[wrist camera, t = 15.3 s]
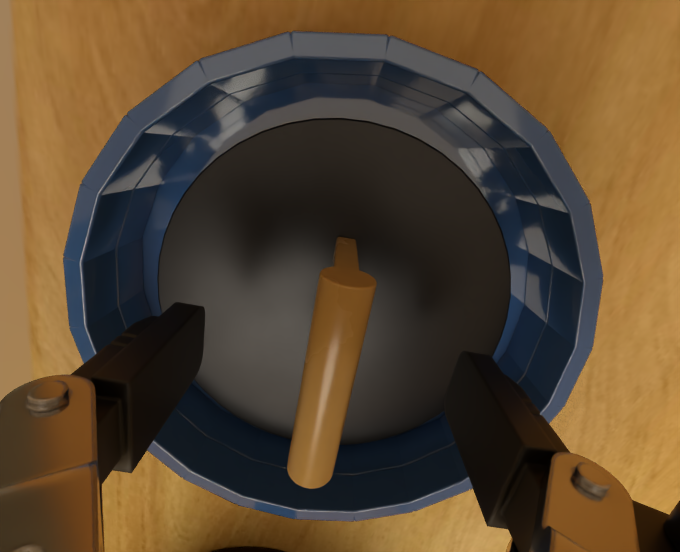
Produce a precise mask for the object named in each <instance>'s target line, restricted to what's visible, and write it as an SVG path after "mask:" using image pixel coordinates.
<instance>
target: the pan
mask: <svg viewBox="0 0 680 552" xmlns="http://www.w3.org/2000/svg"><path fill="white" fill-rule="evenodd" d="M314 118H348V119H356V120H364V121H371V122H374V123H378V124H382V125H385V126H389V127H393V128H396V129H398V130H401V131H403V132H405V133H407V134H410V135H412V136H414V137H417V138H419V139H421V140H422V141H424V142H426V143H427V144H429V145H431V146H432V147H434V148H435V149H437V150H439V151H440V152H442V153H443V154H444V155H446V156H447V157H448V158H449V159H450V160H452V161H453V162H454V163H455V164H456V165H457V166H459V167H460V168H461V169H462V170H463V171H464V172H465V173H466V174H467V175H468V177H469V178H470V179H471V180H472V181H473V182H474V183H475V185H476V186H477V187H478V188H479V189H480V191H481V192H482V194H483V196H484V197H485V199H486V200H487V202H488V203H489V205H490V206H491V208H492V210H493V212H494V214H495V216H496V219H497V221H498V223H499V225H500V227H501V230H502V233H503V236H504V240H505V243H506V247H507V250H508V255H509V263H510V270H511V298H510V304H509V311H508V317H507V321H506V324H505V327H504V330H503V334H502V337H501V339H500V342H499V344H498V346H497V348H496V350H495V352H494V355H493V357H492V358H493V360H494V361H495V362H496V364H497V365H498V367H499V368H500V370H501V371H502V372H503V374H504V375H507V376H508V377H509V378H511V379H512V380H513V381H514V382H516V383H517V384H518V385H519V386H521V387H522V389H523V390H524V391H525V393H526V394H527V395H528V397H529V398H530V399H531V401H532V403H533V404H534V405H535V406H536V407H537V409H538V410H539V411H540V415H543V417H544V418H545V419H546V421H547V422H548V423H550V422H551V421H552V420H553V419H554V418H555V417H556V415H557V414H558V413H559V412H560V411H561V410H562V408H563V407H564V406H565V404H566V402H567V400H568V398H569V396H570V394H571V392H572V390H573V388H574V386H575V384H576V381H577V379H578V377H579V375H580V373H581V371H582V369H583V367H584V365H585V363H586V361H587V359H588V357H589V355H590V353H591V351H592V347H593V343H594V337H595V330H596V324H597V317H598V311H599V304H600V298H601V291H602V285H603V272H602V266H601V260H600V254H599V249H598V243H597V237H596V232H595V226H594V220H593V215H592V209H591V204H590V203H589V199H588V198H587V196H586V194H585V192H584V191H583V189H582V187H581V185H580V183H579V182H578V180H577V178H576V176H575V175H574V173H573V171H572V169H571V168H570V166H569V164H568V162H567V160H566V159H565V157H564V155H563V153H562V152H561V150H560V148H559V146H558V145H557V143H556V141H555V139H554V137H553V136H552V134H551V132H550V131H549V130H548V129H547V128H546V127H545V126H544V125H543V124H542V123H541V122H539V121H538V120H537V119H536V118H535V117H534V116H533V115H531V114H530V113H529V112H528V111H527V110H526V109H524V108H523V107H522V106H521V105H520V104H519V103H518V102H516V101H515V100H514V99H513V98H512V97H511V96H509V95H508V94H507V93H506V92H505V91H504V90H502V89H501V88H500V87H499V86H498V85H497V84H496V83H494V82H493V81H492V80H491V79H490V78H489V77H487V76H486V75H485V74H484V73H483V72H481V71H479V70H478V69H476V68H474V67H471V66H469V65H466V64H464V63H461V62H459V61H456V60H454V59H451V58H448V57H446V56H443V55H441V54H438V53H436V52H433V51H431V50H428V49H425V48H423V47H420V46H418V45H415V44H413V43H410V42H408V41H405V40H402V39H400V38H397V37H395V36H388V35H387V34H366V33H340V32H313V31H292V32H291V33H290V32H284V33H281V34H278V35H275V36H272V37H268V38H265V39H262V40H259V41H255V42H252V43H249V44H246V45H242V46H239V47H236V48H233V49H230V50H226V51H223V52H220V53H217V54H213V55H210V56H207V57H204V58H201V59H200V60H199V61H195V62H194V63H193V64H191V65H190V66H189V67H187V68H186V69H185V70H183V71H182V72H181V73H179V74H178V75H177V76H175V77H174V78H173V79H171V80H170V81H169V82H167V83H166V84H165V85H163V86H162V87H161V88H159V89H158V90H157V91H155V92H154V93H153V94H151V95H150V96H149V97H147V98H146V99H145V100H143V101H142V102H141V103H139V104H138V105H137V106H135V107H134V108H133V109H131V110H130V111H129V112H128V113H127V115H125V116H124V117H123V119H122V120H121V122H120V123H119V125H118V126H117V128H116V129H115V131H114V133H113V134H112V136H111V137H110V139H109V140H108V142H107V143H106V145H105V146H104V148H103V149H102V151H101V152H100V154H99V155H98V157H97V159H96V160H95V162H94V163H93V165H92V166H91V168H90V169H89V171H88V172H87V174H86V175H85V177H84V178H83V180H82V184H81V185H80V187H79V191H78V196H77V200H76V204H75V208H74V212H73V216H72V221H71V225H70V229H69V233H68V237H67V241H66V246H65V250H64V254H63V256H64V258H63V264H64V275H65V286H66V297H67V308H68V319H69V326H70V328H69V329H70V331H71V334H72V336H73V338H74V341H75V343H76V346H77V348H78V351H79V353H80V355H81V358H82V360H83V363H86V362H87V361H88V360H89V359H91V358H92V357H93V356H94V355H95V354H97V353H98V352H99V351H100V350H102V349H103V348H104V347H105V346H107V345H108V344H109V345H110V343H111V341H113V340H114V339H115V338H116V337H118V336H119V335H120V336H121V334H122V333H123V332H124V331H125V330H126V329H127V328H129V327H130V326H131V325H132V324H134V323H135V322H138V321H140V320H143V319H145V318H148V317H150V316H158V317H159V316H160V315H161V309H160V304H159V297H158V282H157V276H158V263H159V255H160V250H161V246H162V241H163V237H164V234H165V231H166V228H167V226H168V223H169V221H170V218H171V216H172V213H173V211H174V210H175V208H176V206H177V204H178V203H179V201H180V199H181V197H182V196H183V194H184V192H185V191H186V190H187V189H188V187H189V186H190V185H191V184H192V182H193V181H194V180H195V179H196V177H197V176H198V175H199V174H200V173H201V172H202V171H203V170H204V169H205V168H206V167H207V166H208V165H209V164H210V163H211V162H213V161H214V160H215V159H216V158H217V157H218V156H220V155H221V154H222V153H224V152H225V151H227V150H228V149H230V148H231V147H233V146H234V145H236V144H237V143H239V142H241V141H243V140H245V139H247V138H249V137H251V136H253V135H255V134H257V133H259V132H261V131H264V130H267V129H270V128H273V127H276V126H279V125H282V124H285V123H289V122H295V121H301V120H308V119H314ZM290 445H291V439H287V438H284V437H281V436H277V435H274V434H271V433H268V432H266V431H264V430H261V429H259V428H257V427H255V426H252V425H250V424H249V423H247V422H245V421H243V420H242V419H240V418H238V417H236V416H235V415H233V414H232V413H230V412H229V411H228V410H226V409H225V408H223V407H222V406H221V405H219V404H218V403H217V402H216V401H215V400H214V399H213V398H211V397H210V396H209V395H208V394H207V393H206V392H205V391H204V390H203V389H202V388H201V387H200V386H199V385H198V383H197V382H196V381H195V380H193V382H192V383H191V385H190V386H189V388H188V389H187V391H186V392H185V394H184V395H183V397H182V398H181V400H180V401H179V403H178V404H177V406H176V407H175V409H174V410H173V412H172V413H171V415H170V416H169V418H168V419H167V421H166V422H165V424H164V425H163V427H162V428H161V430H160V431H159V433H158V434H157V436H156V437H155V439H154V440H153V442H152V443H151V445H150V446H149V448H148V449H147V451H149V452H150V453H151V454H152V455H154V456H155V457H156V458H157V459H159V460H160V461H161V462H162V463H164V464H165V465H166V466H167V467H169V468H170V469H171V470H172V471H174V472H175V473H176V474H177V475H179V476H180V477H183V479H185V480H187V481H189V482H191V483H193V484H195V485H197V486H199V487H201V488H203V489H205V490H207V491H209V492H211V493H213V494H216V495H218V496H220V497H222V498H224V499H226V500H228V501H230V502H232V503H234V504H237V505H239V506H243V507H247V508H251V509H255V510H259V511H263V512H267V513H271V514H275V515H279V516H283V517H288V518H292V519H295V518H296V519H301V520H326V521H351V522H353V521H354V520H355V521H362V520H368V519H374V518H380V517H386V516H392V515H398V514H404V513H410V512H413V511H417V510H420V509H423V508H425V507H428V506H430V505H433V504H435V503H438V502H440V501H443V500H446V499H448V498H451V497H453V496H456V495H458V494H461V493H463V492H466V491H468V490H469V489H470V490H471V489H473V487H472V484H471V482H470V479H469V477H468V474H467V471H466V469H465V466H464V463H463V461H462V458H461V455H460V453H459V450H458V447H457V445H456V442H455V439H454V437H453V434H452V432H451V429H450V426H449V424H448V421H447V418H446V415H445V410H444V411H443V412H442V413H440V414H439V415H438V416H436V417H434V418H432V419H431V420H429V421H427V422H426V423H424V424H422V425H420V426H418V427H416V428H413V429H411V430H409V431H407V432H404V433H402V434H398V435H395V436H392V437H389V438H386V439H382V440H377V441H372V442H367V443H359V444H350V445H339V450H338V454H337V458H336V463H335V467H334V471H333V475H332V477H331V479H330V481H329V482H328V483H327V484H325V485H324V486H322V487H319V488H315V489H309V488H304V487H301V486H299V485H298V484H296V483H295V482H294V481H293V480H292V479H291V478H290V476H289V474H288V470H287V462H288V456H289V450H290Z"/></svg>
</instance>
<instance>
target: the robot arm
mask: <svg viewBox="0 0 680 552" xmlns="http://www.w3.org/2000/svg"><path fill="white" fill-rule="evenodd" d="M204 331H205V308H204V307H203V306H198V305H192V304H186V303H180V302H175V303H174V304H173V305H171V306H170V307H169V308H168V309H167V310H166V311H165V312H163V313H162V314H161V315H160V316H159V317H158V316H150V317H148V318H145V319H143V320H140V321H138V322H135V323H134V324H132V325H131V326H130V327H129V328H127V329H126V330H125V331H124V332H123V333H122V334H121V336H120V335H119V336H118V337H116V338H115V339H114V340H113V341H111V343H110V345H109V344H108V345H107V346H105V347H104V348H103V349H102V350H100V351H99V352H98V353H97V354H95V355H94V356H93V357H92V358H91V359H89V360H88V361H87V362H86V363H84V364H83V365H82V366H81V367H79V368H78V369H77V370H76V371H75V372H73V373H72V374H71V375H55V376H49V377H44V378H40V379H37V380H34V381H31V382H29V383H26V384H24V385H22V386H20V387H18V388H16V389H14V390H13V391H12V392H10V393H9V394H7V395H6V396H5V397H4V398H3V399H2V400H1V402H0V552H105V548H104V524H103V499H102V483H103V482H104V481H105V479H106V478H107V477H108V475H109V474H110V472H111V471H112V470H114V471H121V472H128V473H132V472H133V470H134V469H135V467H136V466H137V464H138V463H139V461H140V460H141V458H142V457H143V455H144V454H145V452H146V451H147V449H148V448H149V446H150V445H151V443H152V442H153V440H154V439H155V437H156V436H157V434H158V433H159V431H160V430H161V428H162V427H163V425H164V424H165V422H166V421H167V419H168V418H169V416H170V415H171V413H172V412H173V410H174V409H175V407H176V406H177V404H178V403H179V401H180V400H181V398H182V397H183V395H184V394H185V392H186V391H187V389H188V388H189V386H190V385H191V383H192V382H193V380H194V378H195V377H196V375H197V374H198V371H199V369H200V366H201V363H202V358H203V349H204ZM444 410H445V415H446V418H447V421H448V424H449V426H450V429H451V432H452V434H453V437H454V439H455V442H456V445H457V447H458V450H459V453H460V455H461V458H462V461H463V463H464V466H465V469H466V471H467V474H468V477H469V479H470V482H471V484H472V487H473V490H474V492H475V495H476V498H477V500H478V503H479V506H480V508H481V511H482V514H483V516H484V519H485V522H486V524H487V526H490V527H497V528H504V529H508V530H509V532H510V534H511V537H512V538H511V540H510V542H509V544H508V546H507V549H506V552H680V501H679V502H678V504H677V505H676V506H675V508H674V509H673V511H672V512H671V513H670V515H668V514H666V513H663V512H661V511H658V510H656V509H653V508H651V507H648V506H646V505H643V504H641V503H638V502H636V501H633V500H632V499H631V497H630V495H629V493H628V492H627V490H626V489H625V488H624V486H623V485H622V484H621V483H620V482H619V481H618V480H617V479H616V478H615V477H614V476H613V475H612V474H610V473H609V472H608V471H607V470H605V469H604V468H603V467H601V466H599V465H598V464H596V463H595V462H593V461H591V460H589V459H587V458H585V457H582V456H580V455H577V454H573V453H570V452H569V450H568V449H567V448H566V446H565V445H564V444H563V442H562V441H561V439H560V438H559V437H558V435H557V434H556V433H555V431H554V430H553V429H552V427H551V426H550V425H549V423H548V422H547V421H546V419H545V418H544V417H543V415H540V411H539V410H538V409H537V407H536V406H535V405H534V404H533V403H532V401H531V399H530V398H529V397H528V395H527V394H526V393H525V391H524V390H523V389H522V387H521V386H519V385H518V384H517V383H516V382H514V381H513V380H512V379H511V378H509V377H508V376H507V375H504V374H503V372H502V371H501V370H500V368H499V367H498V365H497V364H496V362H495V361H494V360H493V358H492V357H491V356H490V355H486V354H480V353H474V352H468V351H463V352H461V353H460V355H459V357H458V359H457V362H456V365H455V368H454V371H453V374H452V377H451V380H450V383H449V386H448V388H447V391H446V395H445V400H444Z"/></svg>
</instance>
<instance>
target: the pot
mask: <svg viewBox="0 0 680 552" xmlns="http://www.w3.org/2000/svg"><path fill="white" fill-rule="evenodd" d="M213 552H283V551H278V550H272V549H265V548H255V547H240V548H229V549H223V550H217V551H213Z"/></svg>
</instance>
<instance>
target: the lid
mask: <svg viewBox="0 0 680 552" xmlns="http://www.w3.org/2000/svg"><path fill="white" fill-rule="evenodd" d="M157 282H158V297H159V304H160V309H161V314H162V313H163V312H165V311H166V310H167V309H168V308H169V307H170V306H171V305H173V304H174V303H175V302H180V303H186V304H192V305H198V306H203V307H204V308H205V331H204V349H203V358H202V363H201V366H200V369H199V371H198V374H197V375H196V377H195V378H194V380H195V381H196V382H197V383H198V385H199V386H200V387H201V388H202V389H203V390H204V391H205V392H206V393H207V394H208V395H209V396H210V397H211V398H213V399H214V400H215V401H216V402H217V403H218V404H219V405H221V406H222V407H223V408H225V409H226V410H228V411H229V412H230V413H232V414H233V415H235V416H236V417H238V418H240V419H242V420H243V421H245V422H247V423H249V424H250V425H252V426H255V427H257V428H259V429H261V430H264V431H266V432H268V433H271V434H274V435H277V436H281V437H284V438H287V439H291V445H290V450H289V456H288V462H287V470H288V474H289V476H290V478H291V479H292V480H293V481H294V482H295V483H296V484H298V485H299V486H301V487H304V488H309V489H315V488H319V487H322V486H324V485H325V484H327V483H328V482H329V481H330V479H331V477H332V475H333V471H334V467H335V463H336V458H337V454H338V450H339V445H350V444H359V443H367V442H372V441H377V440H382V439H386V438H389V437H392V436H395V435H398V434H402V433H404V432H407V431H409V430H411V429H413V428H416V427H418V426H420V425H422V424H424V423H426V422H427V421H429V420H431V419H432V418H434V417H436V416H438V415H439V414H440V413H442V412H443V411H444V400H445V395H446V391H447V388H448V386H449V383H450V380H451V377H452V374H453V371H454V368H455V365H456V362H457V359H458V357H459V355H460V353H461V352H463V351H468V352H474V353H480V354H486V355H490V356H491V357H493V355H494V352H495V350H496V348H497V346H498V344H499V342H500V339H501V337H502V334H503V330H504V327H505V324H506V321H507V317H508V311H509V304H510V298H511V270H510V263H509V255H508V250H507V247H506V243H505V240H504V236H503V233H502V230H501V227H500V225H499V223H498V221H497V219H496V216H495V214H494V212H493V210H492V208H491V206H490V205H489V203H488V202H487V200H486V199H485V197H484V196H483V194H482V192H481V191H480V189H479V188H478V187H477V186H476V185H475V183H474V182H473V181H472V180H471V179H470V178H469V177H468V175H467V174H466V173H465V172H464V171H463V170H462V169H461V168H460V167H459V166H457V165H456V164H455V163H454V162H453V161H452V160H450V159H449V158H448V157H447V156H446V155H444V154H443V153H442V152H440V151H439V150H437V149H435V148H434V147H432V146H431V145H429V144H427V143H426V142H424V141H422V140H421V139H419V138H417V137H414V136H412V135H410V134H407V133H405V132H403V131H401V130H398V129H396V128H393V127H389V126H385V125H382V124H378V123H374V122H371V121H364V120H356V119H348V118H314V119H308V120H301V121H295V122H289V123H285V124H282V125H279V126H276V127H273V128H270V129H267V130H264V131H261V132H259V133H257V134H255V135H253V136H251V137H249V138H247V139H245V140H243V141H241V142H239V143H237V144H236V145H234V146H233V147H231V148H230V149H228V150H227V151H225V152H224V153H222V154H221V155H220V156H218V157H217V158H216V159H215V160H214V161H213V162H211V163H210V164H209V165H208V166H207V167H206V168H205V169H204V170H203V171H202V172H201V173H200V174H199V175H198V176H197V177H196V179H195V180H194V181H193V182H192V184H191V185H190V186H189V187H188V189H187V190H186V191H185V192H184V194H183V196H182V197H181V199H180V201H179V203H178V204H177V206H176V208H175V210H174V211H173V213H172V216H171V218H170V221H169V223H168V226H167V228H166V231H165V234H164V237H163V241H162V246H161V250H160V255H159V263H158V276H157Z"/></svg>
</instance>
